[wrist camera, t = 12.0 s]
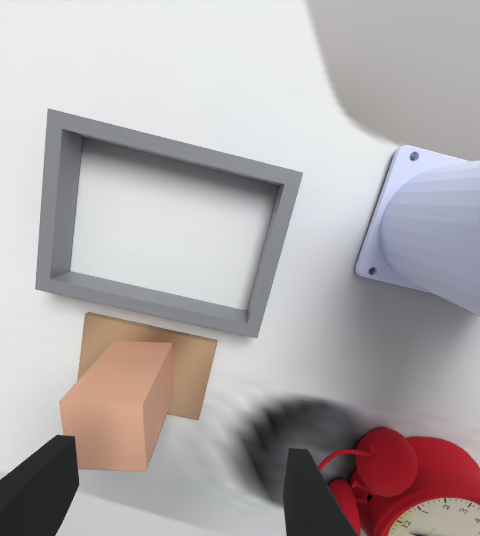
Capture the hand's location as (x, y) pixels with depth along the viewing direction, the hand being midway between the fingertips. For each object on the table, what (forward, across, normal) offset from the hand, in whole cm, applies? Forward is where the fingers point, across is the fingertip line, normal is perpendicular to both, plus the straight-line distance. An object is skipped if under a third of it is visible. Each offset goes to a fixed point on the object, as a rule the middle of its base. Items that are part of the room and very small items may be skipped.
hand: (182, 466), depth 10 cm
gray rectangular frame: (+10, +3, -7) cm, 13 cm away
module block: (+10, +5, +3) cm, 11 cm away
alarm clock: (+11, -15, +12) cm, 22 cm away
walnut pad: (+10, +5, +3) cm, 12 cm away
